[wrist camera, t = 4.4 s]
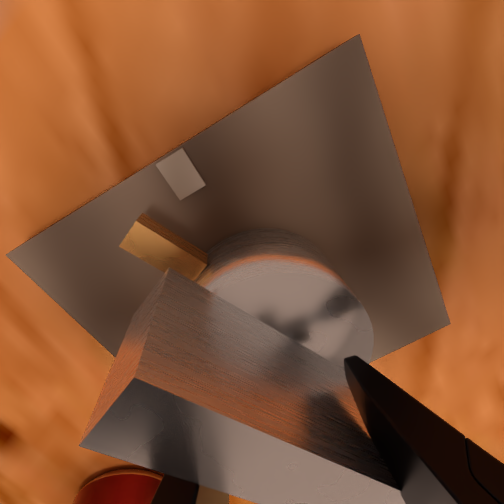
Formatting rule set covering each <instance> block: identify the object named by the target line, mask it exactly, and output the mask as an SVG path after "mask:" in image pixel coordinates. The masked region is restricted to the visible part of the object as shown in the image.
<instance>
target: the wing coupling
mask: <svg viewBox="0 0 504 504" xmlns="http://www.w3.org/2000/svg"><path fill="white" fill-rule="evenodd" d="M119 247H121V248H122V249H124V250H126V251H128V252H129V253H131V254H133V255H135V256H136V257H138V258H140V259H141V260H143V261H145V262H147V263H148V264H150V265H152V266H154V267H155V268H157V269H159V270H161V271H162V272H164V275H163V276H162V277H161V279H160V280H159V281H158V283H157V284H156V285H155V287H154V288H153V289H152V291H151V292H150V293H149V295H148V296H147V298H146V299H145V300H144V302H143V303H142V304H141V306H140V307H139V308H138V310H137V311H136V312H135V314H134V315H133V317H132V320H131V322H130V325H129V327H128V329H127V332H126V334H125V337H124V339H123V341H122V344H121V346H120V348H119V351H118V353H117V356H116V358H115V360H114V363H113V365H112V368H111V370H110V372H109V375H108V377H107V379H106V382H105V384H104V387H103V389H102V391H101V394H100V396H99V399H98V401H97V403H96V406H95V408H94V411H93V413H92V415H91V418H90V420H89V422H88V425H87V427H86V430H85V432H84V434H83V437H82V439H81V442H80V444H79V446H80V447H83V448H86V449H90V450H93V451H96V452H99V453H102V454H105V455H108V456H111V457H115V458H118V459H121V460H124V461H127V462H130V463H133V464H136V465H139V466H143V467H146V468H149V469H152V470H155V471H158V472H161V473H164V474H168V475H171V476H174V477H177V478H180V479H183V480H186V481H189V482H193V483H196V484H199V485H202V486H205V487H208V488H211V489H214V490H218V491H221V492H224V493H227V494H230V495H233V496H236V497H239V498H242V499H246V500H249V501H252V502H255V503H258V504H406V503H405V502H404V500H403V498H402V496H401V490H400V488H399V486H398V485H397V483H396V481H395V480H394V478H393V476H392V474H391V473H390V471H389V469H388V468H387V466H386V464H385V463H384V461H383V459H382V457H381V456H380V454H379V452H378V451H377V449H376V447H375V445H374V444H373V442H372V440H371V438H370V436H369V434H368V432H367V429H366V427H365V425H364V423H363V420H362V418H361V415H360V413H359V410H358V408H357V405H356V403H355V400H354V398H353V396H352V393H351V391H350V388H349V386H348V383H347V380H346V376H345V369H344V358H346V357H350V356H353V355H356V356H358V357H360V358H361V359H362V360H364V361H365V362H366V363H368V364H369V362H370V359H371V356H372V351H373V345H374V334H373V328H372V324H371V321H370V318H369V316H368V314H367V312H366V310H365V309H364V307H363V305H362V304H361V303H360V301H359V300H358V299H357V298H356V296H355V295H354V294H353V292H352V291H351V290H350V289H349V287H348V286H347V285H346V283H345V282H344V281H343V279H342V278H341V277H340V276H339V274H338V273H337V272H336V270H335V269H334V268H333V267H332V265H331V264H330V263H329V261H328V260H327V259H326V257H325V256H324V255H323V254H322V252H321V251H320V250H319V249H318V248H317V247H316V246H315V245H314V244H312V243H311V242H310V241H308V240H307V239H305V238H304V237H301V236H299V235H297V234H295V233H292V232H289V231H285V230H280V229H271V228H261V229H252V230H247V231H243V232H240V233H237V234H234V235H232V236H230V237H228V238H225V239H223V240H222V241H220V242H219V243H217V244H216V245H214V246H213V247H212V248H211V249H210V250H208V251H207V252H206V253H205V252H204V251H202V250H201V249H199V248H197V247H196V246H194V245H193V244H191V243H190V242H188V241H186V240H185V239H183V238H182V237H180V236H178V235H177V234H175V233H174V232H172V231H171V230H169V229H167V228H166V227H164V226H163V225H161V224H160V223H158V222H156V221H155V220H153V219H152V218H150V217H149V216H147V215H145V214H144V213H142V214H141V215H140V216H139V217H138V219H137V220H136V221H135V223H134V224H133V226H132V227H131V229H130V230H129V232H128V233H127V235H126V236H125V238H124V239H123V241H122V242H121V244H120V245H119Z"/></svg>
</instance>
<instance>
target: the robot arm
mask: <svg viewBox="0 0 504 504" xmlns="http://www.w3.org/2000/svg"><path fill="white" fill-rule="evenodd" d="M344 369H345V376H346V380H347V383H348V386H349V388H350V391H351V393H352V396H353V398H354V400H355V403H356V405H357V408H358V410H359V413H360V415H361V418H362V420H363V423H364V425H365V427H366V429H367V432H368V434H369V436H370V438H371V440H372V442H373V444H374V445H375V447H376V449H377V451H378V452H379V454H380V456H381V457H382V459H383V461H384V463H385V464H386V466H387V468H388V469H389V471H390V473H391V474H392V476H393V478H394V480H395V481H396V483H397V485H398V486H399V488H400V490H401V496H402V498H403V500H404V502H405V503H406V504H504V464H503V463H501V462H500V461H499V460H497V459H496V458H494V457H493V456H492V455H490V454H489V453H488V452H486V451H485V450H483V449H482V448H481V447H479V446H478V445H477V444H475V443H474V442H473V441H471V440H470V439H469V438H466V439H465V436H464V435H463V434H462V433H460V432H459V431H458V430H456V429H455V428H454V427H452V426H451V425H450V424H448V423H447V422H446V421H444V420H443V419H442V418H440V417H439V416H438V415H436V414H435V413H434V412H432V411H431V410H429V409H428V408H427V407H425V406H424V405H423V404H421V403H420V402H419V401H417V400H416V399H415V398H413V397H412V396H411V395H409V394H408V393H407V392H405V391H404V390H403V389H401V388H400V387H399V386H397V385H396V384H395V383H393V382H392V381H391V380H389V379H388V378H387V377H385V376H384V375H382V374H381V373H380V372H378V371H377V370H376V369H374V368H373V367H372V366H370V365H369V364H368V363H366V362H365V361H364V360H362V359H361V358H360V357H358V356H356V355H353V356H350V357H346V358H344ZM150 504H229V494H227V493H224V492H221V491H218V490H214V489H211V488H208V487H205V486H202V485H199V484H196V483H193V482H189V481H186V480H183V479H180V478H177V477H174V476H171V475H168V474H164V476H163V478H162V480H161V482H160V484H159V486H158V488H157V490H156V492H155V495H154V497H153V499H152V501H151V503H150Z"/></svg>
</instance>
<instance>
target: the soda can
mask: <svg viewBox="0 0 504 504" xmlns="http://www.w3.org/2000/svg"><path fill="white" fill-rule="evenodd" d="M162 478H163V477H162V476H160V475H158V474H156V473H153V472H150V471H146V470H140V469H121V470H115V471H111V472H107V473H105V474H102V475H100V476H98V477H96V478H95V479H93V480H91V481H90V482H89V483H88V484H86V485H85V486H84V487H83V488H82V489H81V490H80V491H79V492H78V494H77V495H76V497H75V499H74V501H73V504H150V503H151V501H152V499H153V497H154V495H155V492H156V490H157V488H158V486H159V484H160V482H161V480H162Z"/></svg>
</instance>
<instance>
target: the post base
mask: <svg viewBox="0 0 504 504" xmlns="http://www.w3.org/2000/svg"><path fill="white" fill-rule="evenodd" d="M142 213H144V214H145V215H147V216H149V217H150V218H152V219H153V220H155V221H156V222H158V223H160V224H161V225H163V226H164V227H166V228H167V229H169V230H171V231H172V232H174V233H175V234H177V235H178V236H180V237H182V238H183V239H185V240H186V241H188V242H190V243H191V244H193V245H194V246H196V247H197V248H199V249H201V250H202V251H204V252H205V253H206V252H207V251H208V250H210V249H211V248H212V247H213V246H214V245H216V244H217V243H219V242H220V241H222V240H223V239H225V238H228V237H230V236H232V235H234V234H237V233H240V232H243V231H247V230H252V229H261V228H271V229H280V230H285V231H289V232H292V233H295V234H297V235H299V236H301V237H304V238H305V239H307V240H308V241H310V242H311V243H312V244H314V245H315V246H316V247H317V248H318V249H319V250H320V251H321V252H322V254H323V255H324V256H325V257H326V259H327V260H328V261H329V263H330V264H331V265H332V267H333V268H334V269H335V270H336V272H337V273H338V274H339V276H340V277H341V278H342V279H343V281H344V282H345V283H346V285H347V286H348V287H349V289H350V290H351V291H352V292H353V294H354V295H355V296H356V298H357V299H358V300H359V301H360V303H361V304H362V305H363V307H364V309H365V310H366V312H367V314H368V316H369V318H370V321H371V324H372V328H373V334H374V345H373V351H372V356H371V359H370V362H372V361H374V360H376V359H379V358H381V357H383V356H385V355H387V354H389V353H391V352H393V351H395V350H397V349H399V348H401V347H404V346H406V345H408V344H410V343H412V342H414V341H416V340H418V339H420V338H422V337H424V336H426V335H428V334H431V333H433V332H435V331H437V330H439V329H441V328H443V327H445V326H447V325H449V324H451V323H450V320H449V317H448V314H447V311H446V307H445V304H444V301H443V298H442V295H441V292H440V288H439V285H438V282H437V279H436V276H435V273H434V269H433V266H432V263H431V260H430V257H429V253H428V250H427V247H426V244H425V241H424V238H423V234H422V231H421V228H420V225H419V222H418V219H417V215H416V212H415V209H414V206H413V203H412V199H411V196H410V193H409V190H408V187H407V184H406V180H405V177H404V174H403V171H402V168H401V165H400V161H399V158H398V155H397V152H396V149H395V145H394V142H393V139H392V136H391V133H390V130H389V126H388V123H387V120H386V117H385V114H384V111H383V107H382V104H381V101H380V98H379V95H378V91H377V88H376V85H375V82H374V79H373V76H372V72H371V69H370V66H369V63H368V60H367V57H366V53H365V50H364V47H363V44H362V41H361V37H360V34H358V35H357V36H355V37H353V38H351V39H350V40H348V41H346V42H344V43H343V44H341V45H340V46H338V47H336V48H335V49H333V50H332V51H330V52H328V53H327V54H325V55H324V56H322V57H320V58H319V59H317V60H316V61H314V62H312V63H311V64H309V65H308V66H306V67H304V68H303V69H301V70H300V71H298V72H296V73H295V74H293V75H292V76H290V77H288V78H287V79H285V80H284V81H282V82H280V83H279V84H277V85H276V86H274V87H272V88H271V89H269V90H268V91H266V92H264V93H263V94H261V95H260V96H258V97H256V98H255V99H253V100H252V101H250V102H248V103H247V104H245V105H244V106H242V107H240V108H239V109H237V110H236V111H234V112H232V113H231V114H229V115H228V116H226V117H224V118H223V119H221V120H220V121H218V122H216V123H215V124H213V125H212V126H210V127H208V128H207V129H205V130H204V131H202V132H200V133H199V134H197V135H196V136H194V137H192V138H191V139H189V140H188V141H186V142H184V143H183V144H181V145H180V146H178V147H176V148H175V149H173V150H172V151H170V152H168V153H167V154H165V155H164V156H162V157H160V158H159V159H157V160H156V161H154V162H152V163H151V164H149V165H148V166H146V167H144V168H143V169H141V170H140V171H138V172H136V173H135V174H133V175H132V176H130V177H128V178H127V179H125V180H124V181H122V182H120V183H119V184H117V185H116V186H114V187H112V188H111V189H109V190H108V191H106V192H104V193H103V194H101V195H100V196H98V197H96V198H95V199H93V200H92V201H90V202H88V203H87V204H85V205H84V206H82V207H80V208H79V209H77V210H76V211H74V212H72V213H71V214H69V215H68V216H66V217H64V218H63V219H61V220H60V221H58V222H56V223H55V224H53V225H52V226H50V227H48V228H47V229H45V230H44V231H42V232H40V233H39V234H37V235H36V236H34V237H32V238H31V239H29V240H28V241H26V242H25V243H23V244H21V245H20V246H18V247H17V248H15V249H14V250H12V251H11V252H9V253H8V254H6V256H7V257H8V258H9V259H10V260H12V261H13V262H14V263H15V264H16V265H17V266H18V267H19V268H20V269H21V270H22V271H23V272H24V273H25V274H27V275H28V276H29V277H30V278H31V279H32V280H33V281H34V282H35V283H36V284H37V285H38V286H39V287H40V288H42V289H43V290H44V291H45V292H46V293H47V294H48V295H49V296H50V297H51V298H52V299H53V300H54V301H55V302H57V303H58V304H59V305H60V306H61V307H62V308H63V309H64V310H65V311H66V312H67V313H68V314H69V315H70V316H72V317H73V318H74V319H75V320H76V321H77V322H78V323H79V324H80V325H81V326H82V327H83V328H84V329H85V330H87V331H88V332H89V333H90V334H91V335H92V336H93V337H94V338H95V339H96V340H97V341H98V342H99V343H100V344H102V345H103V346H104V347H105V348H106V349H107V350H108V351H109V352H110V353H111V354H112V355H113V356H114V357H115V358H116V356H117V353H118V351H119V348H120V346H121V344H122V341H123V339H124V337H125V334H126V332H127V329H128V327H129V325H130V322H131V320H132V317H133V315H134V314H135V312H136V311H137V310H138V308H139V307H140V306H141V304H142V303H143V302H144V300H145V299H146V298H147V296H148V295H149V293H150V292H151V291H152V289H153V288H154V287H155V285H156V284H157V283H158V281H159V280H160V279H161V277H162V276H163V275H164V272H162V271H161V270H159V269H157V268H155V267H154V266H152V265H150V264H148V263H147V262H145V261H143V260H141V259H140V258H138V257H136V256H135V255H133V254H131V253H129V252H128V251H126V250H124V249H122V248H121V247H119V245H120V244H121V242H122V241H123V239H124V238H125V236H126V235H127V233H128V232H129V230H130V229H131V227H132V226H133V224H134V223H135V221H136V220H137V219H138V217H139V216H140V215H141V214H142ZM370 362H369V363H370Z"/></svg>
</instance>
